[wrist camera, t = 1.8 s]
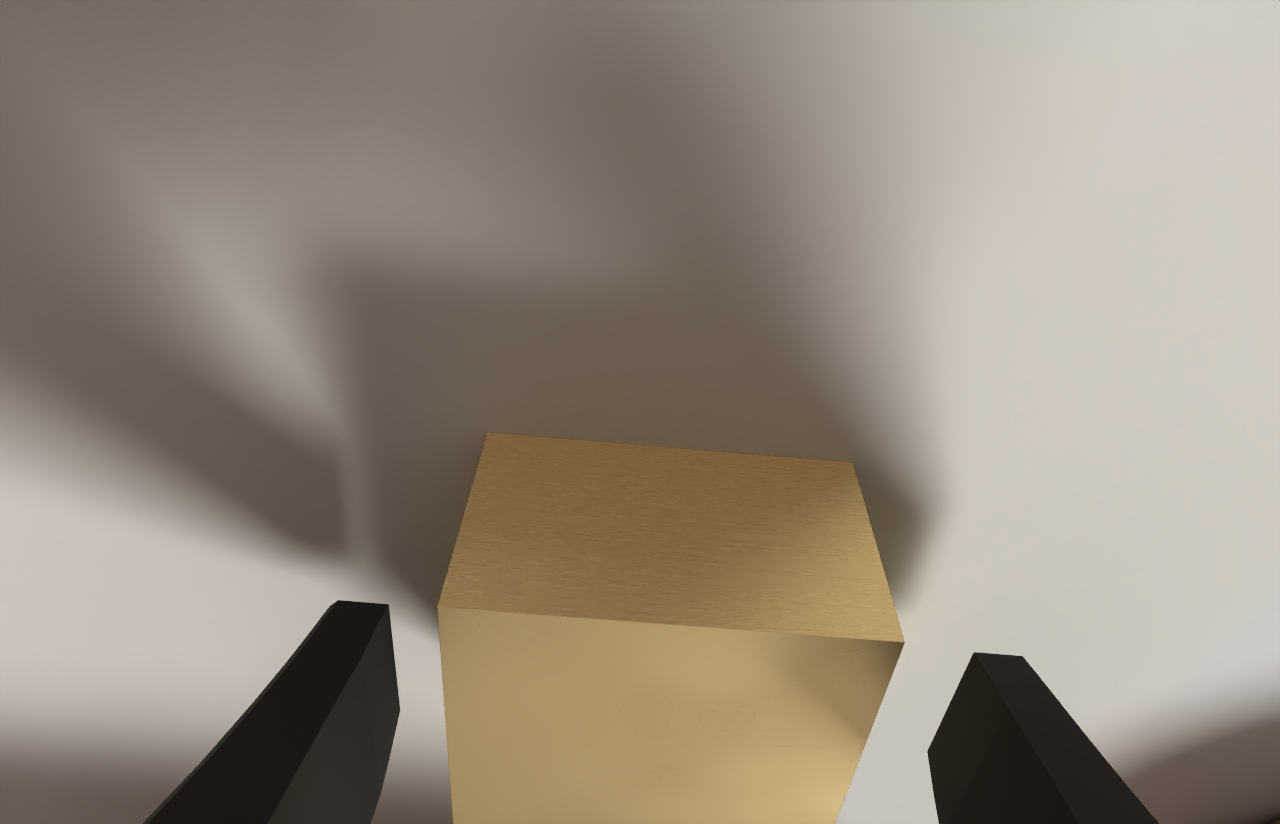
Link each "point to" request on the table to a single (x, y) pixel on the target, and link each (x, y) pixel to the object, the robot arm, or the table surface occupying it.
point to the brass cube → (660, 636)
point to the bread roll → (1276, 822)
